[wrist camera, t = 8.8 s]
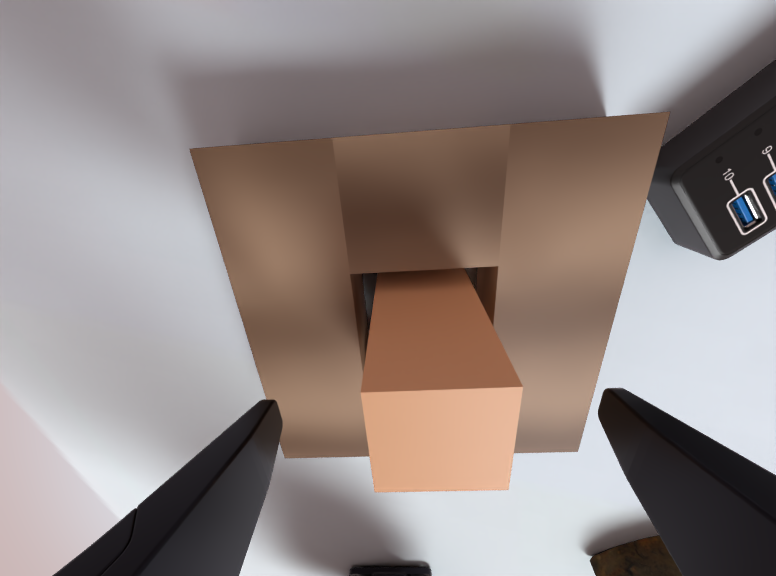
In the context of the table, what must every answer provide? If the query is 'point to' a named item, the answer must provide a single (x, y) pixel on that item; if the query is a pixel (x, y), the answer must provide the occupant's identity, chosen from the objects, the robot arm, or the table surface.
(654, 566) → the brown long rough piece
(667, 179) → the multiport hub
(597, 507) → the table surface
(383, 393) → the peg
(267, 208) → the socket block
